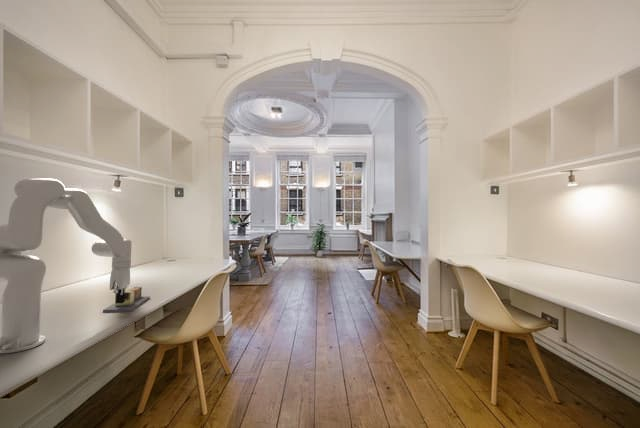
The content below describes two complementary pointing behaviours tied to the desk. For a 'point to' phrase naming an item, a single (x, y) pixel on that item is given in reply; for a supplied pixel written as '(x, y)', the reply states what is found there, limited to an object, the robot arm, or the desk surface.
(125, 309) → the tong mat
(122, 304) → the tan block
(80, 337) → the desk surface
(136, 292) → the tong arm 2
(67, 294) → the desk surface
